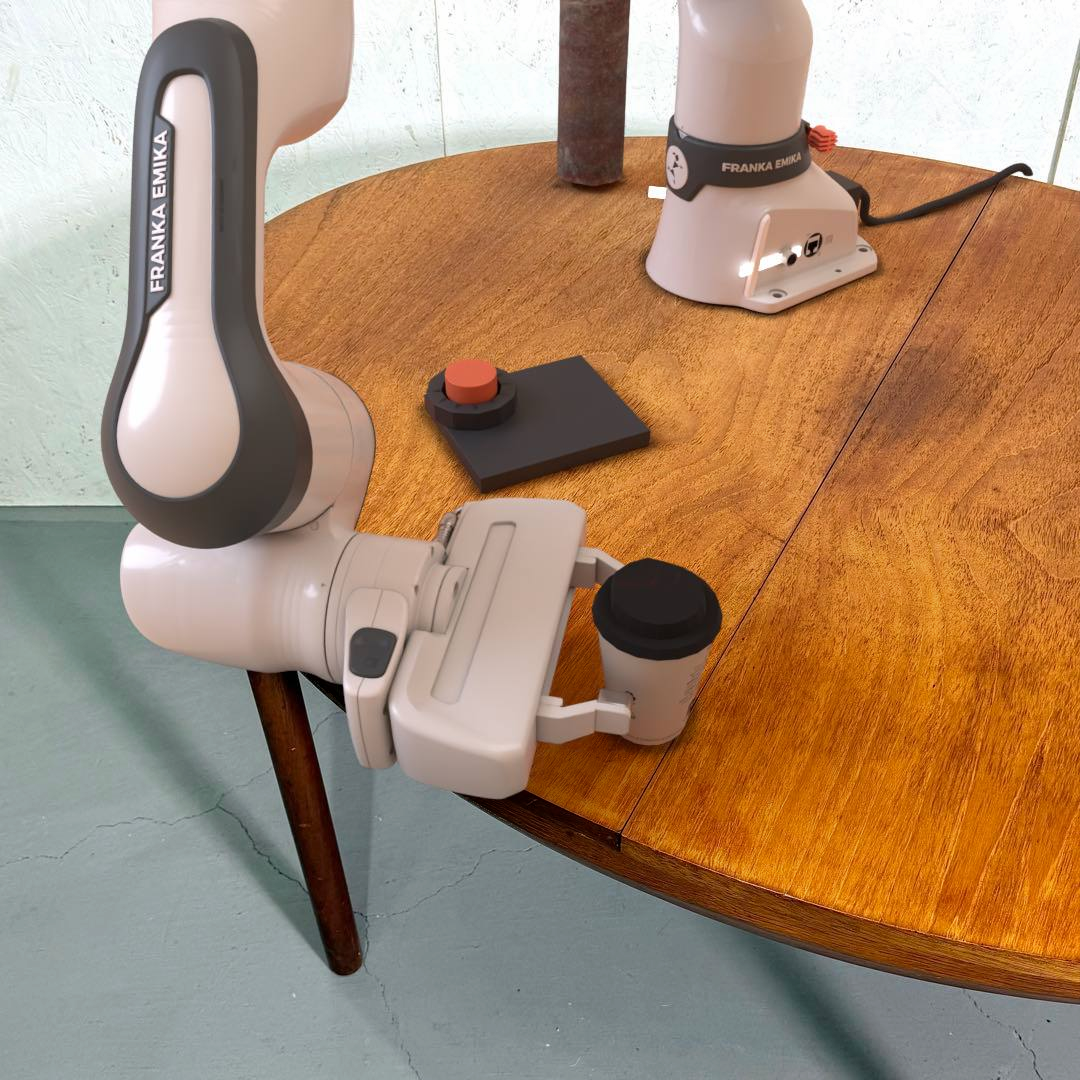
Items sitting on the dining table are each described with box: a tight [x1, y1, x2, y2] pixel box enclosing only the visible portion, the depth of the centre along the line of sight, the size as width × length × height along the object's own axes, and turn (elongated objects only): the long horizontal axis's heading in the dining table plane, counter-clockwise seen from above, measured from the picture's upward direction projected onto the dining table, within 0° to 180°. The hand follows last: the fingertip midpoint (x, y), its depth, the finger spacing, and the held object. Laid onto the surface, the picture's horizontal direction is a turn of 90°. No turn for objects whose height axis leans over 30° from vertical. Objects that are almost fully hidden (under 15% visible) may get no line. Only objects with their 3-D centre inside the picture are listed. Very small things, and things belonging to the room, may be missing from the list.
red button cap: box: [445, 358, 497, 405], centre depth 82 cm, size 4×4×2 cm
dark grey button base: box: [423, 354, 651, 494], centre depth 83 cm, size 14×12×3 cm
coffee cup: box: [590, 557, 724, 746], centre depth 59 cm, size 7×7×10 cm
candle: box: [556, 0, 631, 187], centre depth 112 cm, size 8×7×20 cm
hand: (642, 648), depth 59 cm, fingers open, 8 cm apart
